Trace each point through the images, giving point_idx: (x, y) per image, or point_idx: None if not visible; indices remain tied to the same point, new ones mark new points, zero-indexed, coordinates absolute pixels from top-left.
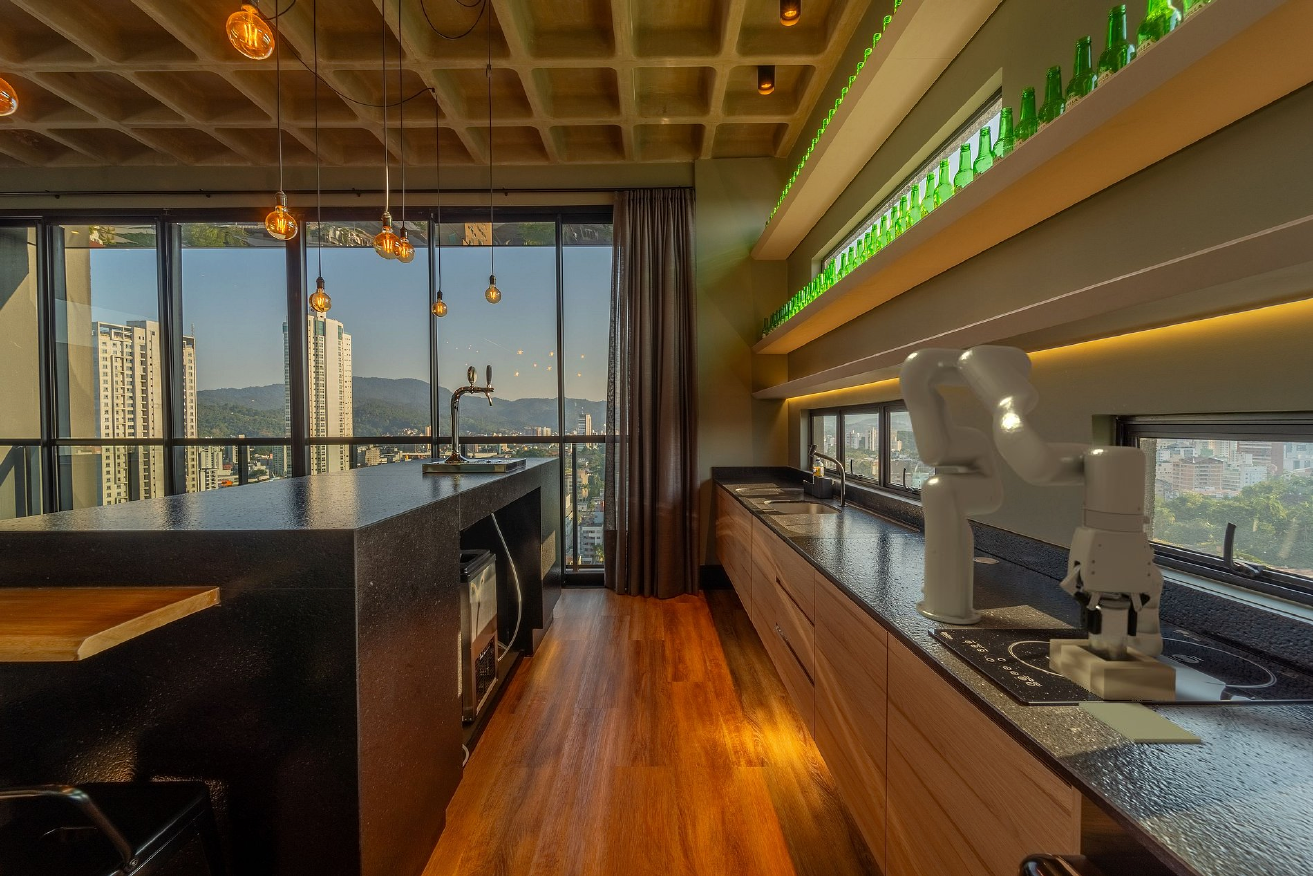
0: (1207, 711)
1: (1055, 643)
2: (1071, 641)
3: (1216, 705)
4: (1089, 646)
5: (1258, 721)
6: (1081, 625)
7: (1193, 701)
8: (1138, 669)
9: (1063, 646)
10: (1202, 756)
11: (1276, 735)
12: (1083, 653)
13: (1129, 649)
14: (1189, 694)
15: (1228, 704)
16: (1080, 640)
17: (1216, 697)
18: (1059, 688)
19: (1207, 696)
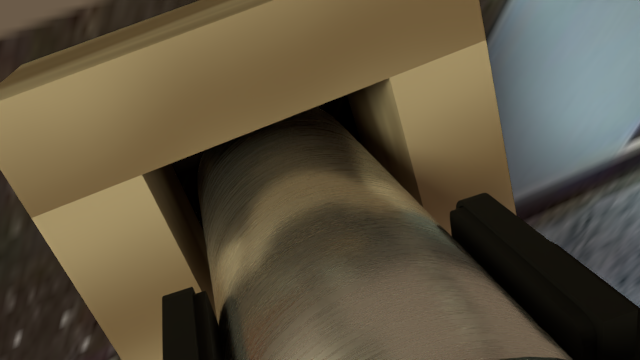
0: None
1: (1, 164)
2: (131, 102)
3: (577, 203)
4: (206, 246)
5: (615, 271)
6: (163, 303)
7: (521, 202)
8: None
9: (43, 233)
10: None
11: None
12: (147, 305)
13: (466, 112)
14: (550, 140)
15: (623, 176)
16: (210, 46)
17: (628, 128)
18: (25, 310)
19: (603, 132)
